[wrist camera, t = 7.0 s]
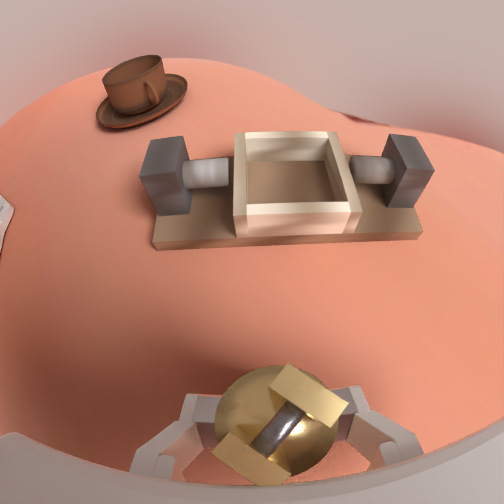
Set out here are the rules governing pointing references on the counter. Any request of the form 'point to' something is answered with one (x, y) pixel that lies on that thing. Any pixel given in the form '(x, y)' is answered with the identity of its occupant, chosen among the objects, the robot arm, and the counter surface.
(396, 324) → the counter surface
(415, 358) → the counter surface
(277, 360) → the counter surface
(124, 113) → the cup and saucer
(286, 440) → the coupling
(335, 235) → the shaft stand
